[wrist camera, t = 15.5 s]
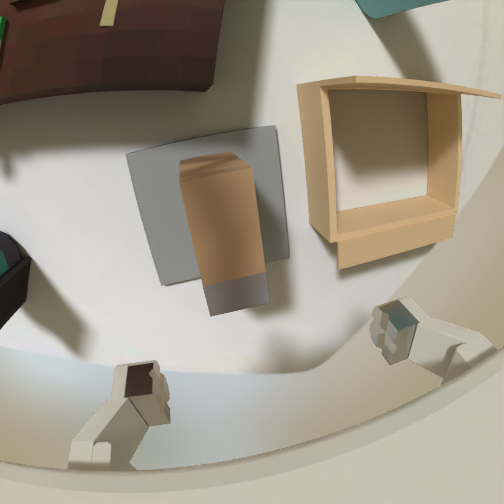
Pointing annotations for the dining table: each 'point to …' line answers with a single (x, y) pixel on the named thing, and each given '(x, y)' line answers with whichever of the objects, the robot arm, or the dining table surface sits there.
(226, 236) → the box
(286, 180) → the dining table surface
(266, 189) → the mat
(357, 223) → the drawer
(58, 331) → the dining table surface
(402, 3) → the blue rounded block
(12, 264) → the speaker
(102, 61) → the decorative book
